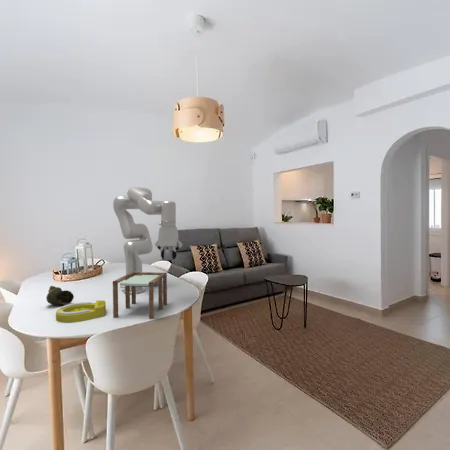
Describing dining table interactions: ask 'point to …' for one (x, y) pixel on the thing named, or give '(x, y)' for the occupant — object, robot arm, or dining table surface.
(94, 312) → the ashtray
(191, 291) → the dining table surface
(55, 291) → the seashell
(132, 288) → the frame
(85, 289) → the dining table surface
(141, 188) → the robot arm
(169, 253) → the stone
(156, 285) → the pale green flat block
